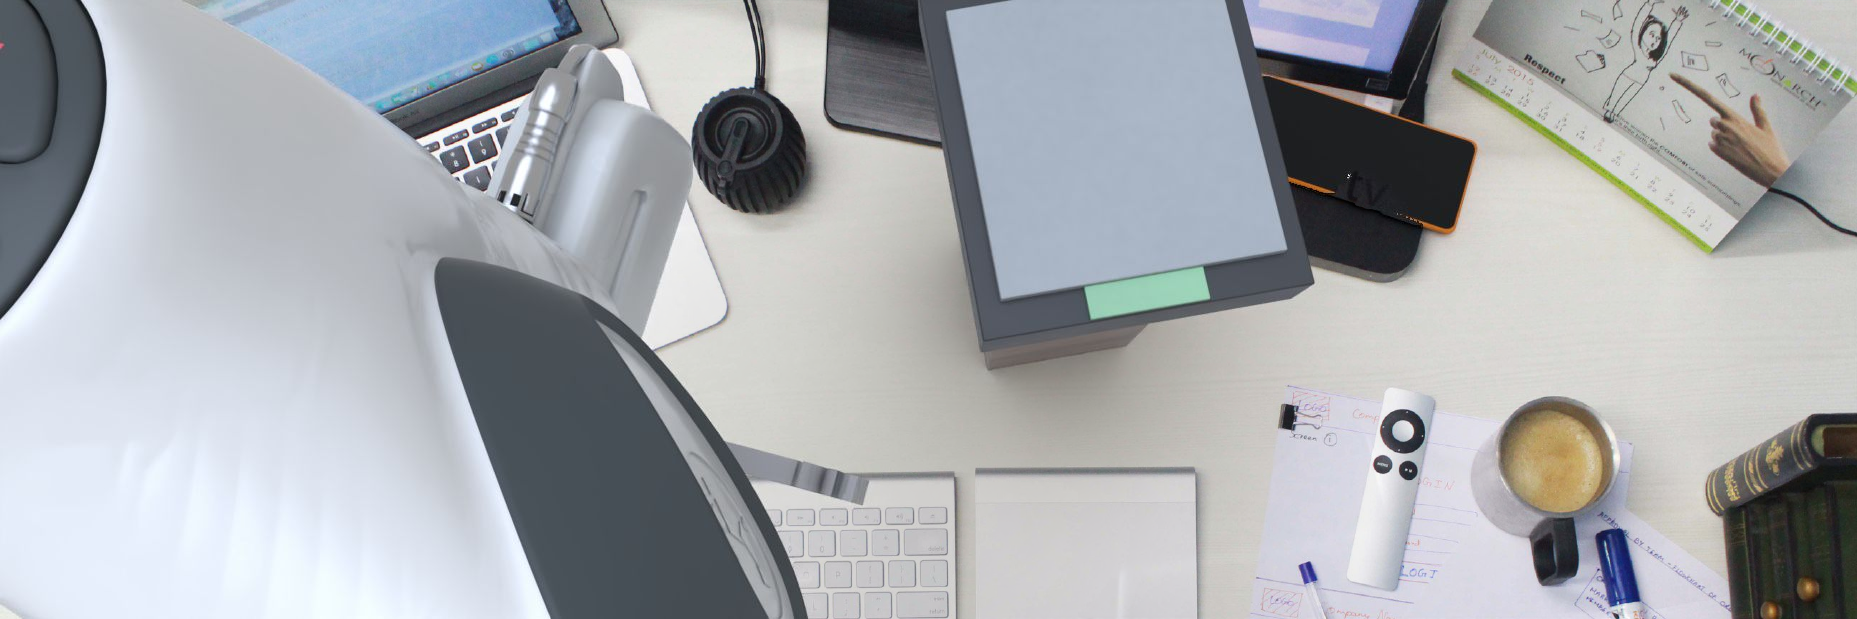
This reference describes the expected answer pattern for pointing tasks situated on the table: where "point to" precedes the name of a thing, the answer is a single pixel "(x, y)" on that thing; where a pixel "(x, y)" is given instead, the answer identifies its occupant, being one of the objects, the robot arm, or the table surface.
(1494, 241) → the table surface
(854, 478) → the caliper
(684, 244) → the table surface
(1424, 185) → the smartphone
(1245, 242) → the scale
